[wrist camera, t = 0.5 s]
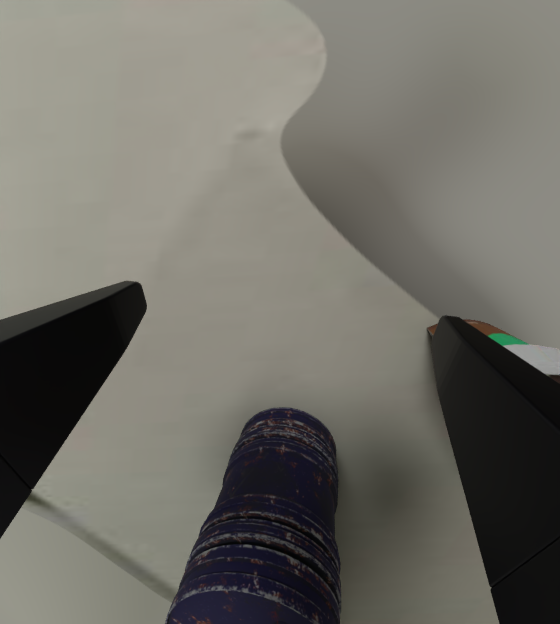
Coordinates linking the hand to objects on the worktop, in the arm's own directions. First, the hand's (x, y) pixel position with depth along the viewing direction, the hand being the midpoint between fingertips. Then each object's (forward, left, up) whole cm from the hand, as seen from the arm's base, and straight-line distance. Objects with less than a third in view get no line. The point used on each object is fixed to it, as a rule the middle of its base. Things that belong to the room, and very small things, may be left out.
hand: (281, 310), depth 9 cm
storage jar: (-17, -11, -16) cm, 25 cm away
